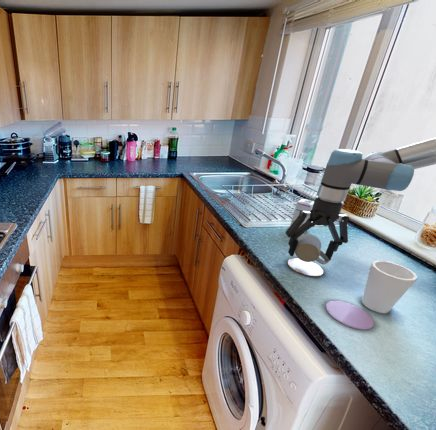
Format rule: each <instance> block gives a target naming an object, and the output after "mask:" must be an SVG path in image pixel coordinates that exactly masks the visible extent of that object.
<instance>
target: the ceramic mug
mask: <svg viewBox="0 0 436 430" xmlns="http://www.w3.org/2000/svg"><path fill="white" fill-rule="evenodd" d="M297 239H298V240H299V241H298V244H297V247H296V249H295V252H294V255H295V256H296V258H299V259H300V260H302V261H305V262H317V264H318V263H319V264H321V265H326V264H328V263H329V262H330V261H329V258H328V257H327V256H326V254H325V252H324V251H323V250H322V241H321V240H320V238H319V237H317V236H316V235H314V234H311V233H304V234H303V235H301V236H299V237H298V238H297ZM320 257H321V258H320Z"/></svg>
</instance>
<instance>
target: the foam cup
mask: <svg viewBox="0 0 436 430" xmlns="http://www.w3.org/2000/svg"><path fill="white" fill-rule="evenodd" d="M368 270H369V271H368V276H367V279H366V283H365V286H364V287H365V288H364V290H363V294H362V298H361V304H363V305H364V306H365V307H366V308H367V309H369V310H371V311H373V312H375V313H380V314H388V313H389V312H390V311H391V310H392V309H393V308H394V307H395V305H396V304H397V303H398V301H400V299H401V298H402V297H403V296H404V295H405V294H406V292H407V291H408V290H409V289H410V288H411V287H413V286H414V284H415V282H416V281H417V280H418V276H417V274H416V272H414V271H412V270H411V269H410V268H408V267H405V266H404V265H401V264H398V263H395V262H392V261H388V260H382V259H381V260H374V261H372V262H371V264H370V267H369V269H368Z"/></svg>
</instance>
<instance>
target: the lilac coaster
mask: <svg viewBox="0 0 436 430" xmlns="http://www.w3.org/2000/svg"><path fill="white" fill-rule="evenodd" d="M325 310H326V312H327V313H328V315H329V316H330V317H332V318H333V319H334V320H335V321H337V322H338V323H340V324H342V325H344V326H346V327H349V328H352V329H355V330H359V331H368V330H371V329H372V328H373V327H374V326H375V322H374V319H373V318H372V316H371V315H370V314H369V313H368V312H367V311H365V310H364V309H362V308H361V307H359V306H357V305H355V304H352V303H350V302H346V301H342V300H330V301H327V302H326V305H325Z"/></svg>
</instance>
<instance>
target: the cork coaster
mask: <svg viewBox="0 0 436 430" xmlns="http://www.w3.org/2000/svg"><path fill="white" fill-rule="evenodd" d="M287 266H288V267H289V268H290V269H291V270H293V271H294V272H296V273H298V274H300V275H303V276H306V277H311V278H312V277H313V278H317V277H321V276H323V274H324V269H323V268H322V267H321V266H320V265H319V264H318V263H316V262H315V261H312V262H305V261H302V260H300V259H299V258H298V257H292V258H289V259H288V260H287Z"/></svg>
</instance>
